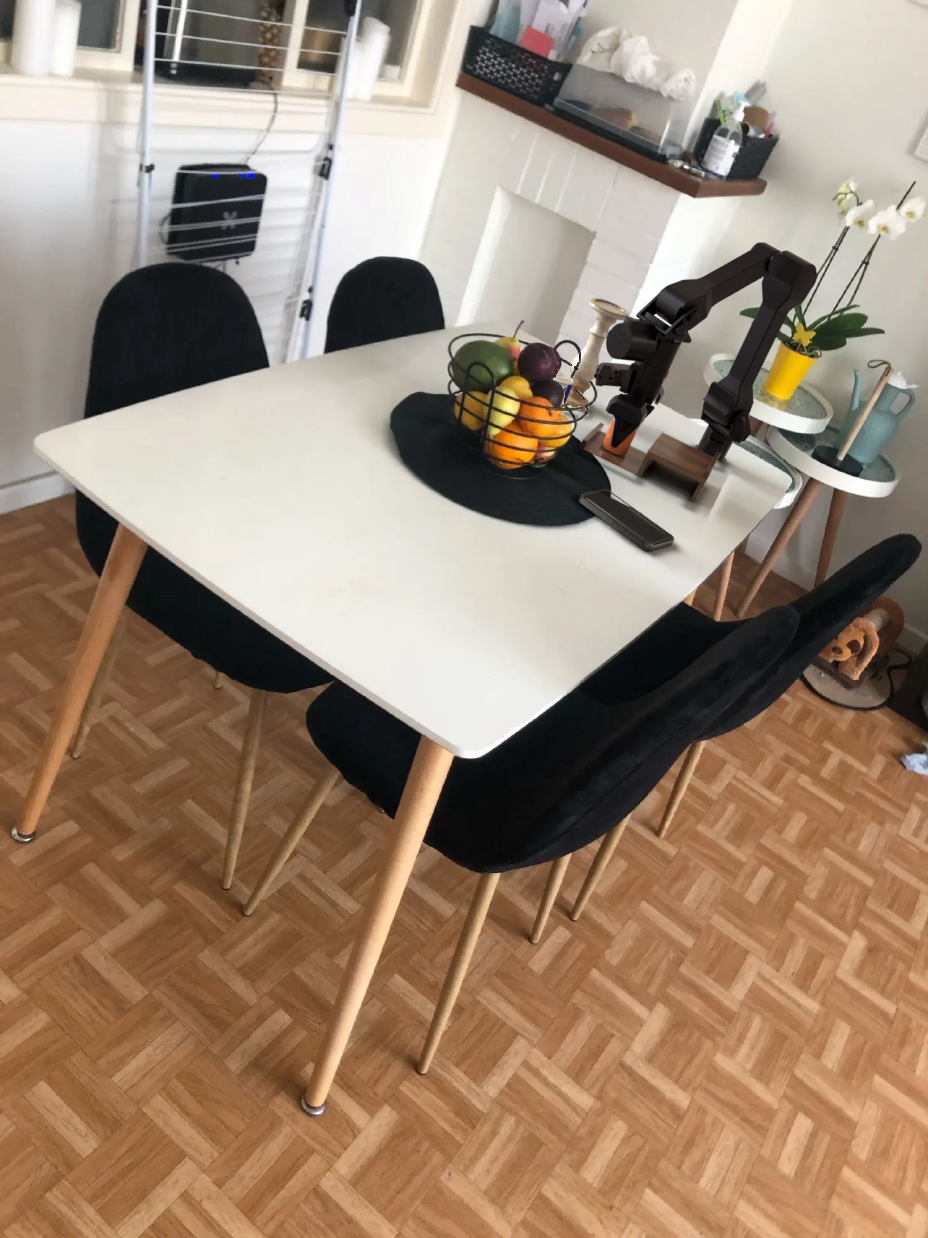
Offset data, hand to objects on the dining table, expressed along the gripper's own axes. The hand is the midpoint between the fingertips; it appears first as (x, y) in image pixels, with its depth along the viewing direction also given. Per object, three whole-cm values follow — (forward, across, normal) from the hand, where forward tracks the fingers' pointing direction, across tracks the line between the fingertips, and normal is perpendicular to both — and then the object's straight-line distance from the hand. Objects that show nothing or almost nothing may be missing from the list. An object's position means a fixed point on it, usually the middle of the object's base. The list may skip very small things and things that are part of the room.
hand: (616, 442), depth 179 cm
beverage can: (+3, +18, -11) cm, 21 cm away
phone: (+3, +24, +9) cm, 26 cm away
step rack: (+3, 0, +6) cm, 7 cm away
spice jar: (+1, 0, 0) cm, 1 cm away
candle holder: (+3, -14, -13) cm, 19 cm away
